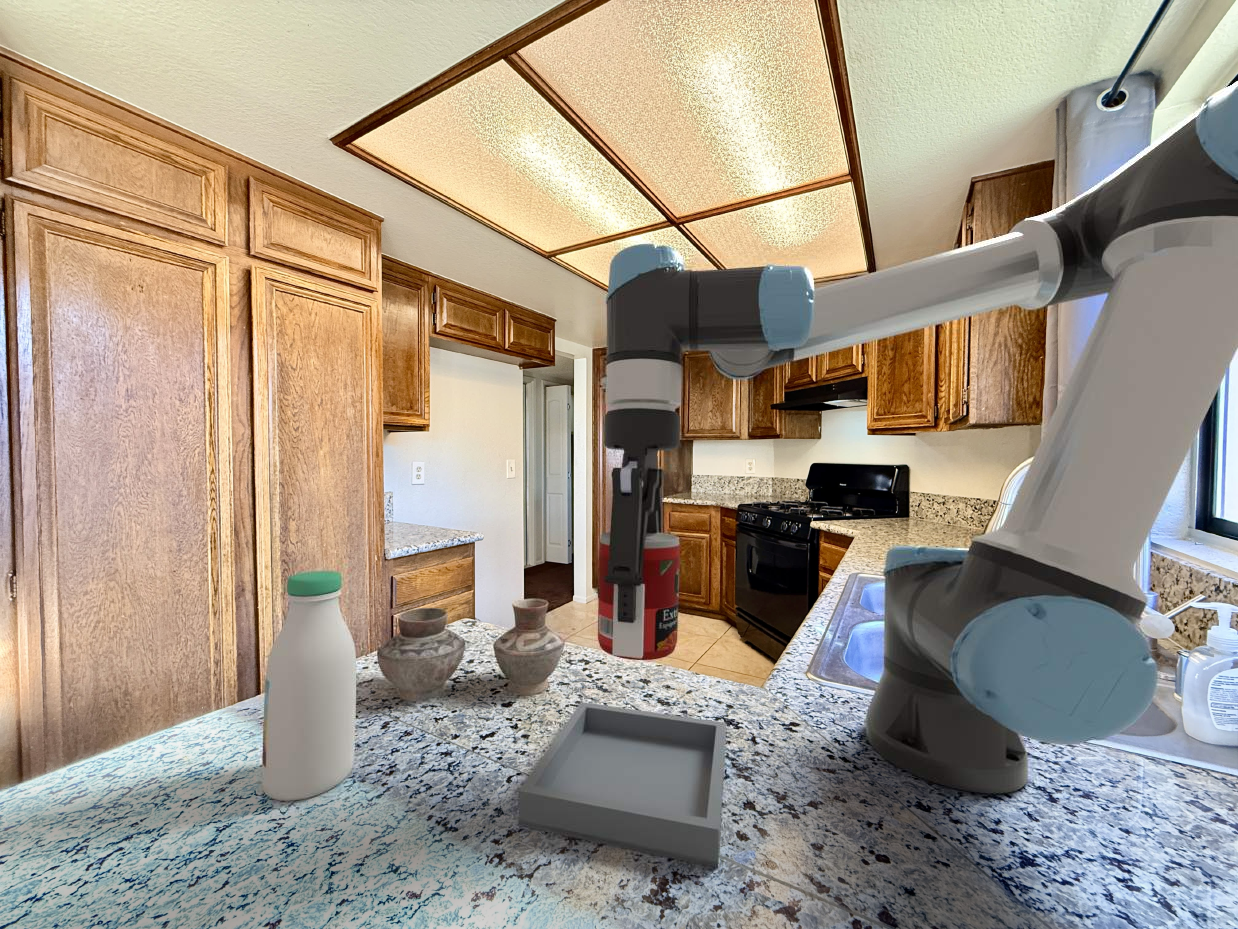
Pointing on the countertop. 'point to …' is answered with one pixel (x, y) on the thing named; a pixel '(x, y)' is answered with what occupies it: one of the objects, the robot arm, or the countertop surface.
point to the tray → (632, 783)
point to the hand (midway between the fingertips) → (637, 639)
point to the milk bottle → (309, 693)
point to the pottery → (436, 652)
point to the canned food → (646, 596)
